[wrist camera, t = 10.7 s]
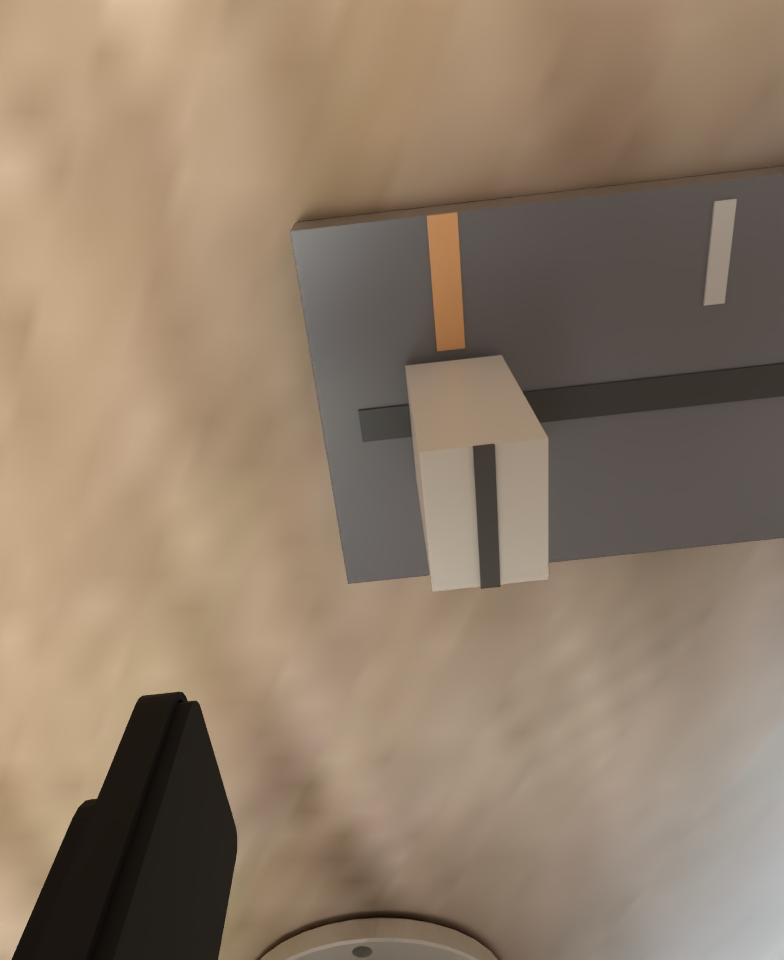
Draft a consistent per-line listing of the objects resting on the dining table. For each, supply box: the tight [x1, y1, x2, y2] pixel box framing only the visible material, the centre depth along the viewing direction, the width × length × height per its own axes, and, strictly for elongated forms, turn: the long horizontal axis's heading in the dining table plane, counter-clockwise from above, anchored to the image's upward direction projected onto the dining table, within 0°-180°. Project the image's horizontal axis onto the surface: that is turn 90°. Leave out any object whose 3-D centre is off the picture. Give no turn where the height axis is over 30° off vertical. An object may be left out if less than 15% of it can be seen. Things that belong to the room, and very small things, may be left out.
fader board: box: [290, 166, 784, 584], centre depth 19 cm, size 10×20×2 cm, turn 96°
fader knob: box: [405, 355, 548, 592], centre depth 16 cm, size 3×2×5 cm
